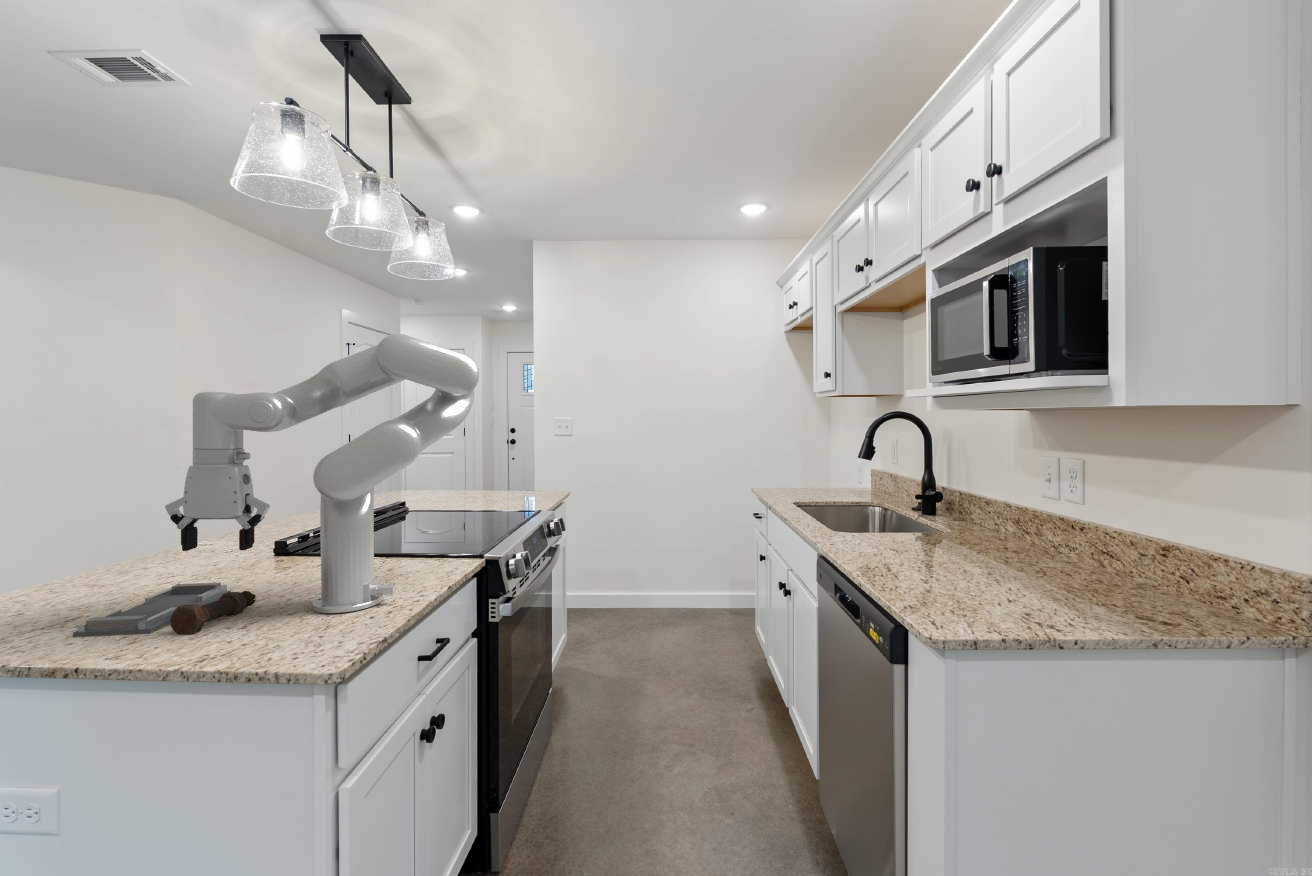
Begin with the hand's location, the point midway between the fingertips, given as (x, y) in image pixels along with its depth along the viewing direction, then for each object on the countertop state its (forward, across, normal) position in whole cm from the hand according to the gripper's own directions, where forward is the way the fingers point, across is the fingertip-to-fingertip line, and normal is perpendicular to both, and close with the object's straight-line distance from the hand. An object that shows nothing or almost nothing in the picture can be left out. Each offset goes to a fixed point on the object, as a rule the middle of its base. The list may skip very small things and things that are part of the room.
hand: (218, 549), depth 106 cm
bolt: (+14, 0, 0) cm, 14 cm away
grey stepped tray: (+14, +13, -5) cm, 20 cm away
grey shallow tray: (+14, +13, -5) cm, 20 cm away
